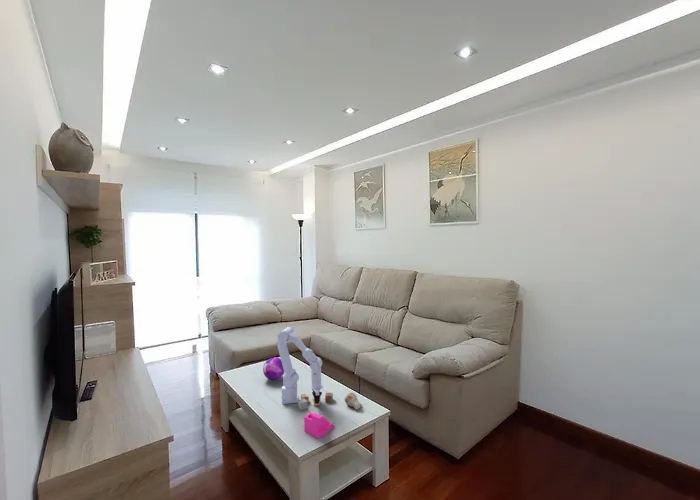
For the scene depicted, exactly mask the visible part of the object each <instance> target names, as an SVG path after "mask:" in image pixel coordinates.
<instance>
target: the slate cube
mask: <svg viewBox="0 0 700 500" xmlns="http://www.w3.org/2000/svg"><path fill="white" fill-rule="evenodd" d="M297 407H298V409H299V411H302V410H305V409H307V408H308V403H307V401H306V400H305V398H304V399H301V398H300V399H298V402H297Z"/></svg>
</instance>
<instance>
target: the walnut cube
mask: <svg viewBox="0 0 700 500" xmlns="http://www.w3.org/2000/svg"><path fill="white" fill-rule="evenodd" d="M333 399H334V393H333V392H325V395H324V400H325V401H324V403H333Z"/></svg>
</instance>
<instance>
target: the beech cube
mask: <svg viewBox="0 0 700 500" xmlns="http://www.w3.org/2000/svg"><path fill="white" fill-rule="evenodd" d="M304 398H305V400H306V401H307V404H309V402H310V400H309V399H310V396H309V394H308V393H307V392H306V393H302V394H300V400H301V399H304Z"/></svg>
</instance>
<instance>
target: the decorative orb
mask: <svg viewBox="0 0 700 500" xmlns="http://www.w3.org/2000/svg"><path fill="white" fill-rule="evenodd" d="M262 371H263V375H264V376H265V378H266V379H267V380H270V381H276V380H279V379H281V378H283V375H284V369H283V365H282V362H281V358H280V357H278V356H277V357H275V356H273V357H270V358H268V359H267V360H266V361H265V362H264V365H263V368H262Z"/></svg>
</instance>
